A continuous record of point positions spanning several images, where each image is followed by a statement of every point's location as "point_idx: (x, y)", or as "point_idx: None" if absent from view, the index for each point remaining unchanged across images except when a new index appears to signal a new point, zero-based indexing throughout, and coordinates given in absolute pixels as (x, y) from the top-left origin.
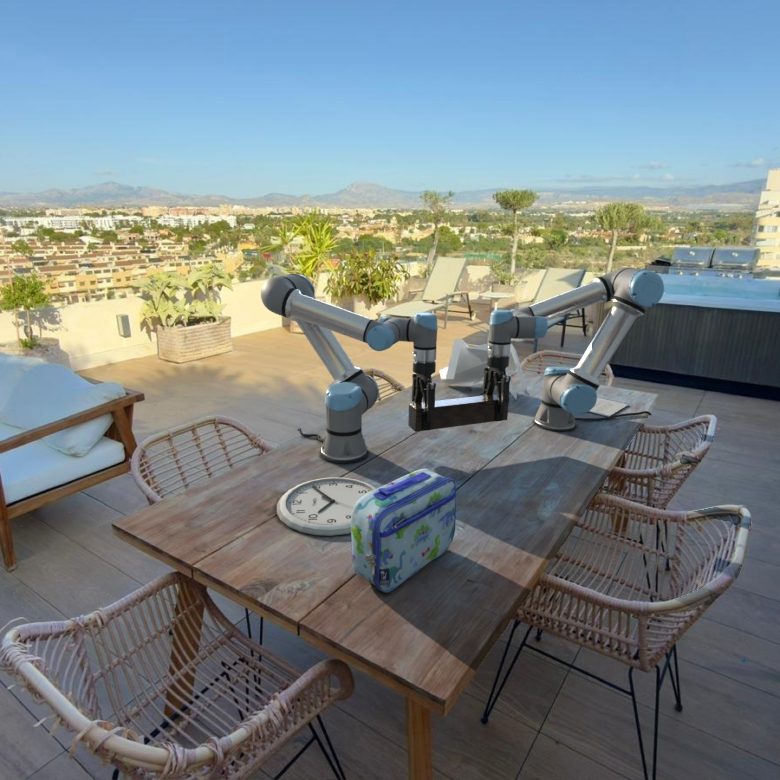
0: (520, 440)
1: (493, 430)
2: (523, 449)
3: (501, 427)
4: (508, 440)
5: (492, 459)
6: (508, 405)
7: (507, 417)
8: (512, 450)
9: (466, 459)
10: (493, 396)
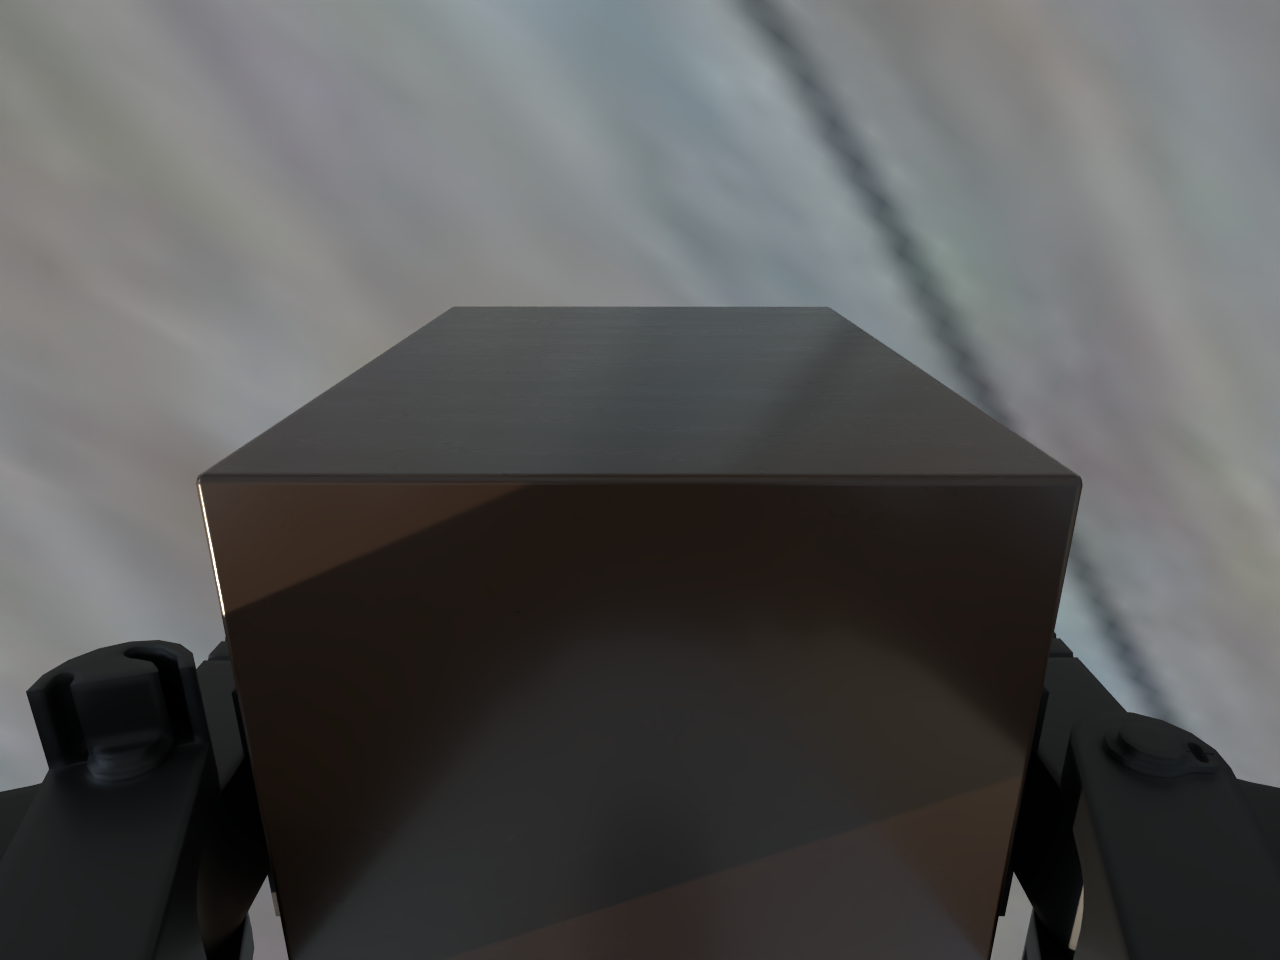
0: (869, 39)
1: (375, 226)
2: (1150, 211)
3: (276, 11)
4: (794, 230)
5: (1165, 721)
6: (948, 391)
7: (844, 318)
8: (1096, 379)
9: (1028, 926)
10: (540, 935)
